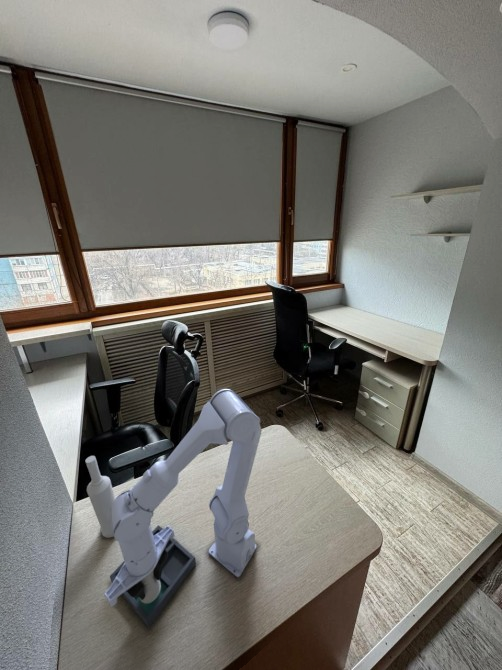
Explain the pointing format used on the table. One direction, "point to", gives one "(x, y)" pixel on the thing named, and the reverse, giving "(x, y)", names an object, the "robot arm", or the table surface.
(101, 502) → the bottle
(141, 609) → the tray
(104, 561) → the table surface
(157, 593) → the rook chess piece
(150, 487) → the robot arm
